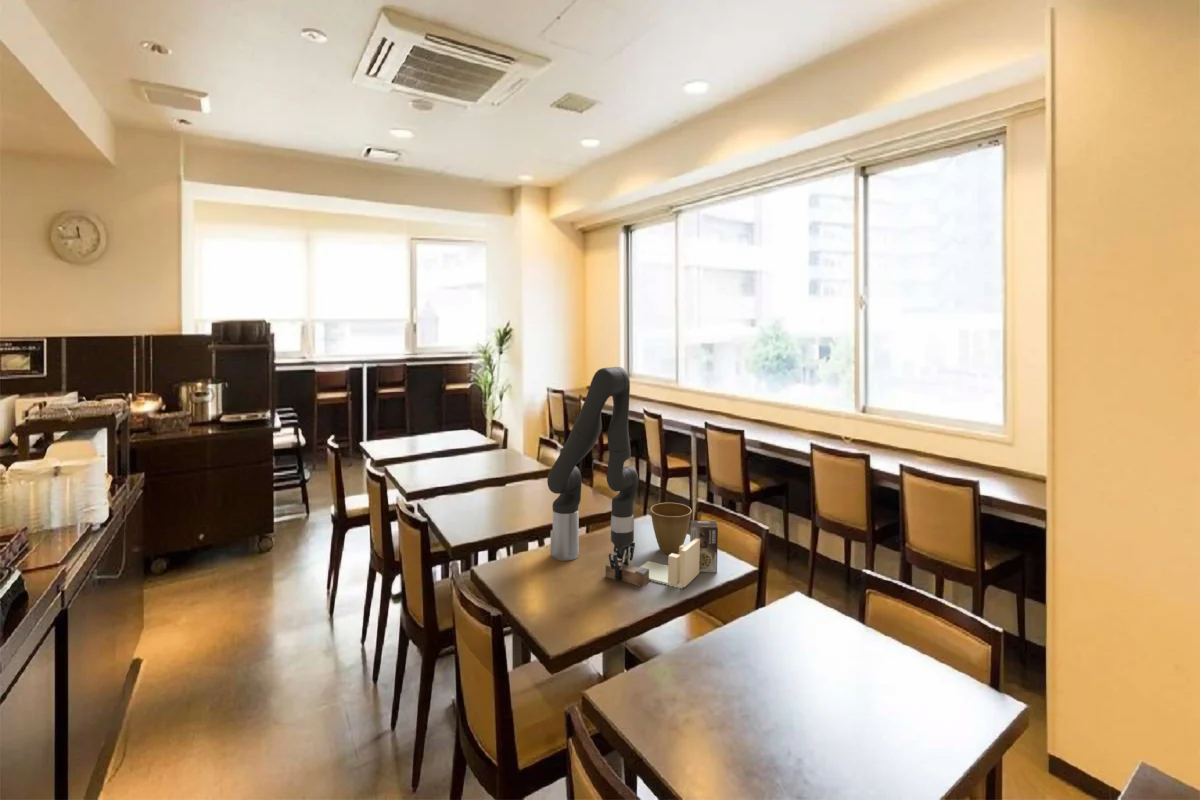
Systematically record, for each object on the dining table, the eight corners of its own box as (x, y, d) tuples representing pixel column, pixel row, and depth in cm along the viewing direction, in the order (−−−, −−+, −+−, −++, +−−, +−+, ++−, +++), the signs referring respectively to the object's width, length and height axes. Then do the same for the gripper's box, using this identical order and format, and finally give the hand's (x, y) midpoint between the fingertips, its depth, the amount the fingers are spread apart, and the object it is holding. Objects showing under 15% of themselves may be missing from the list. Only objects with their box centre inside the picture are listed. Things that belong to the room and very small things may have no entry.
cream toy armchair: (631, 575, 199) (632, 539, 197) (648, 563, 209) (648, 528, 207) (684, 589, 189) (685, 551, 187) (698, 575, 199) (700, 538, 197)
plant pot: (644, 545, 225) (645, 504, 223) (681, 541, 229) (682, 501, 226) (657, 560, 211) (658, 517, 208) (697, 556, 214) (698, 514, 212)
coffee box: (715, 565, 207) (717, 520, 205) (717, 573, 201) (718, 527, 199) (689, 564, 208) (690, 519, 206) (689, 572, 202) (691, 526, 200)
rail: (605, 576, 198) (605, 563, 198) (611, 572, 202) (611, 559, 201) (643, 586, 191) (643, 573, 190) (648, 582, 194) (649, 569, 194)
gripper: (623, 519, 203) (622, 567, 205) (601, 532, 191) (601, 582, 193) (642, 523, 199) (642, 572, 201) (621, 536, 187) (621, 588, 189)
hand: (621, 577), depth 197 cm, fingers closed on rail, 4 cm apart
